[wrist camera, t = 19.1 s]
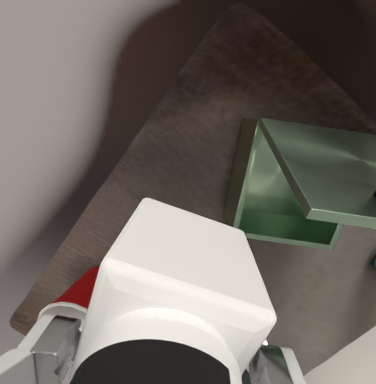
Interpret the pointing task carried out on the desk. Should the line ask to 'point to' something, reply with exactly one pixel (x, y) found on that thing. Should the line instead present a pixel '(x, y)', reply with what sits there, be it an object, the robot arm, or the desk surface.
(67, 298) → the plastic cup
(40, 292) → the desk surface
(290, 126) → the lid
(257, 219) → the green open box
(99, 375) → the medicine bottle
